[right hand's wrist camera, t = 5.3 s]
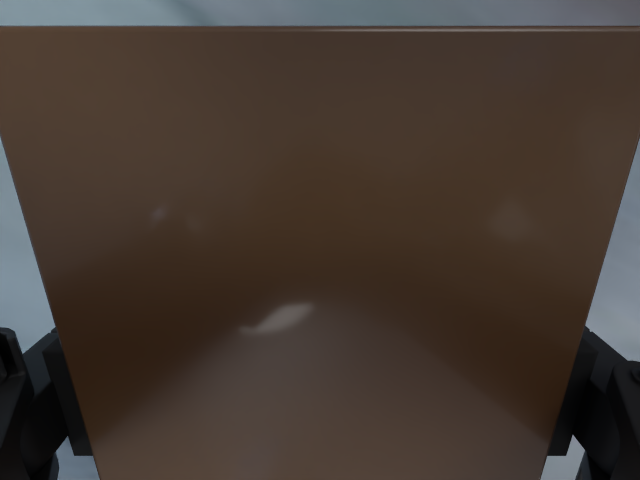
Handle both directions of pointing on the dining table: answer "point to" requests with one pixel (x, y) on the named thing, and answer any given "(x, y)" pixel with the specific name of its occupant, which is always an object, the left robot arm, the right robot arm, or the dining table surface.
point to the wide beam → (320, 237)
